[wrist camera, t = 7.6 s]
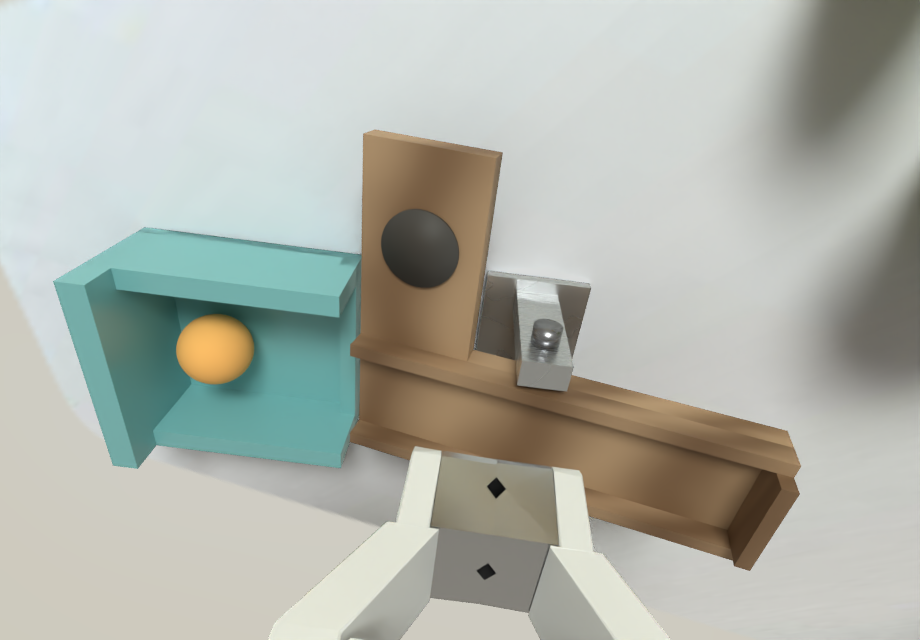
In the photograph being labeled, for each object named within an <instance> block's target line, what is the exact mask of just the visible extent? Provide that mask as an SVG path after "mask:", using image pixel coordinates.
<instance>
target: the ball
mask: <svg viewBox="0 0 920 640" xmlns="http://www.w3.org/2000/svg"><path fill="white" fill-rule="evenodd" d="M176 355H177V359H178V362H179V364H180V366H181V368H182V369H183V370H184V372H185V373H186V374H187V375H189V376H190V377H191V378H193V379H195V380H196V381H199V382H202V383H206V384H223V383H227V382H230V381H232V380H234V379H236V378H238V377H239V376H241V375H242V374H243V373H244V372H245V371H246V370H247V368H248V367H249V365H250V363H251V361H252V359H253V355H254V342H253V338H252V335H251V333H250V332H249V330H248V329H247V327H246V326H245V325H244V324H243V323H242V322H240V321H239V320H237V319H235V318H233V317H231V316H228V315H223V314H209V315H204V316H201V317H199V318H197V319H195V320H193V321H192V322H190V323H189V324H188V325H187V326H186V327H185V328H184V329H183V331H182V332H181V334H180V336H179V338H178V341H177V345H176Z"/></svg>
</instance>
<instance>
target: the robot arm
mask: <svg viewBox="0 0 920 640" xmlns="http://www.w3.org/2000/svg"><path fill="white" fill-rule="evenodd" d="M430 598H436V599H444V600H453V601H460V602H468V603H476V604H483V605H488V606H493V607H499V608H504V609H510V610H515V611H522V612H527V613H529V615H528V616H529V618H530V620H531V622H532V624H533V626H534V628H535V630H536V632H537V634H538V635H539V638H540V640H671V639H670V637H669V636H668V635H667V634H666V632H665V631H664V630H663V629H662V627H661V626H660V625H659V624H658V622H657V621H656V620H655V619H654V617H653V616H652V615H651V614H650V613H649V611H648V610H647V609H646V607H645V606H644V605H643V603H642V602H641V601H640V600H639V598H638V597H637V596H636V595H635V593H634V592H633V591H632V590H631V588H630V587H629V586H628V585H627V583H626V582H625V581H624V580H623V578H622V577H621V576H620V575H619V573H618V572H617V571H616V570H615V568H614V567H613V566H612V565H611V563H610V562H609V561H608V559H607V558H606V557H605V556H604V554H602V553H596V552H594V549H593V542H592V536H591V529H590V523H589V516H588V509H587V503H586V496H585V490H584V483H583V476H582V474H581V472H580V471H579V470H572V469H565V468H558V467H550V466H543V465H536V464H529V463H521V462H514V461H507V460H499V459H490V458H484V457H478V456H472V455H466V454H461V453H455V452H449V451H443V453H442V451H440V450H434V449H428V448H423V447H417V446H415V447H414V449H413V452H412V455H411V459H410V463H409V467H408V472H407V476H406V480H405V484H404V489H403V493H402V497H401V501H400V505H399V510H398V514H397V518H396V522H389V521H387V522H386V523H384V524H383V525H382V526H381V527H380V528H379V529H378V530H377V531H376V532H375V533H373V534H372V535H371V536H370V537H369V538H368V539H367V540H366V541H365V542H363V543H362V544H361V545H360V546H359V547H358V548H357V549H356V550H355V551H354V552H352V553H351V554H350V555H349V556H348V557H347V558H346V559H345V560H344V561H342V562H341V563H340V564H339V565H338V566H337V567H336V568H335V569H334V570H332V571H331V572H330V573H329V574H328V575H327V576H326V577H325V578H324V579H323V580H321V581H320V582H319V583H318V584H317V585H316V586H315V587H314V588H312V590H310V591H309V592H308V593H307V594H306V595H305V596H304V597H303V598H301V599H300V600H299V601H298V602H297V603H296V604H295V605H294V606H293V607H291V608H290V609H289V610H288V611H287V612H286V613H285V614H284V615H283V616H281V617H280V618H279V619H278V620H277V621H276V622H275V624H274V626H273V628H272V631H271V633H270V636H269V639H268V640H400V639H401V638H402V636H403V635H404V634H405V632H406V631H407V630H408V628H409V627H410V626H411V625H412V623H413V622H414V621H415V619H416V618H417V617H418V615H419V614H420V613H421V612H422V610H423V609H424V607H425V606H426V605H427V604H428V602H429V600H430Z"/></svg>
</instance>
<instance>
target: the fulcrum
mask: <svg viewBox="0 0 920 640" xmlns="http://www.w3.org/2000/svg"><path fill="white" fill-rule="evenodd" d="M590 290H591V286H590V284H589V283H581V282H573V281H565V280H557V279H549V278H541V277H533V276H526V275H518V274H510V273H502V272H494V271H488V274H487V280H486V287H485V293H484V300H483V307H482V313H481V320H480V326H479V333H478V339H477V346H476V351H480V352H484V353H488V354H492V355H496V356H500V357H504V358H507V359H511V360H515V361H516V376H517V385H519V386H527V387H535V388H543V389H551V390H558V391H566V392H567V390H568V386H569V382H570V379H571V375H572V371H573V368H574V366H573V362H572V357H573V354H574V350H575V346H576V342H577V339H578V335H579V331H580V328H581V324H582V320H583V316H584V313H585V309H586V305H587V302H588V298H589V294H590Z"/></svg>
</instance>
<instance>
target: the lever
mask: <svg viewBox="0 0 920 640" xmlns="http://www.w3.org/2000/svg"><path fill="white" fill-rule="evenodd" d="M502 154H503V153H502V152H497V151H491V150H486V149H480V148H474V147H469V146H463V145H458V144H452V143H447V142H441V141H435V140H430V139H424V138H419V137H413V136H408V135H402V134H396V133H391V132H385V131H380V130H373V131H370V132H367V133H364V134H363V192H362V263H361V333H360V334H359V336H358V337H357V338H356V339H355V340H354V341H353V342H352V343H351V344H350V356H352V357H356V358H359V359H360V406H359V421H358V422H357V424H356V425H355V426H354V428H353V429H352V430H351V432H350V442H352V443H355V444H359V445H362V446H365V447H368V448H372V449H375V450H378V451H381V452H385V453H388V454H391V455H394V456H397V457H401V458H404V459H407V460H410V459H411V455H412V452H413V449H414V447H415V446H417V447H423V448H428V449H434V450H440V451H442V453H443V451H449V452H455V453H461V454H466V455H472V456H478V457H484V458H490V459H499V460H507V461H514V462H521V463H529V464H536V465H543V466H550V467H558V468H565V469H572V470H579V471H580V472H581V474H582V476H583V483H584V490H585V496H586V503H587V509H588V516H591V517H594V518H597V519H601V520H604V521H607V522H610V523H613V524H617V525H620V526H623V527H626V528H630V529H633V530H636V531H639V532H642V533H646V534H649V535H652V536H655V537H659V538H662V539H665V540H668V541H671V542H675V543H678V544H681V545H684V546H688V547H691V548H694V549H697V550H700V551H704V552H707V553H710V554H713V555H717V556H720V557H723V558H726V559H729V560H733V563H734V566H736V567H739V568H742V569H745V570H749V571H750V570H751V568H752V567H753V565H754V564H755V562H756V561H757V559H758V558H759V556H760V554H761V553H762V551H763V550H764V548H765V547H766V545H767V544H768V542H769V541H770V539H771V537H772V536H773V534H774V533H775V531H776V530H777V528H778V527H779V525H780V524H781V522H782V521H783V519H784V517H785V516H786V514H787V513H788V511H789V510H790V508H791V507H792V505H793V504H794V502H795V501H796V499H797V497H798V496H799V494H800V493H799V491H798V488H797V485H796V482H795V480H794V477H795V475H796V474H797V472H798V471H799V469H800V467H801V465H800V462H799V460H798V457H797V454H796V452H795V449H794V447H793V444H792V442H791V439H790V436H789V434H788V431H785V430H782V429H778V428H774V427H770V426H766V425H762V424H758V423H754V422H751V421H747V420H743V419H739V418H735V417H731V416H727V415H724V414H720V413H716V412H712V411H708V410H704V409H700V408H697V407H693V406H689V405H685V404H681V403H677V402H673V401H670V400H666V399H662V398H658V397H654V396H650V395H646V394H643V393H639V392H635V391H631V390H627V389H623V388H619V387H615V386H612V385H608V384H604V383H600V382H596V381H592V380H588V379H585V378H581V377H577V376H573V375H571V379H570V382H569V386H568V390H567V392H566V391H558V390H551V389H543V388H535V387H527V386H519V385H517V376H516V361H515V360H511V359H507V358H504V357H500V356H496V355H492V354H488V353H484V352H480V351H476V350H473V349H474V342H475V335H476V328H477V322H478V315H479V308H480V302H481V295H482V288H483V281H484V275H485V268H486V261H487V255H488V248H489V241H490V234H491V228H492V221H493V214H494V208H495V201H496V194H497V187H498V181H499V174H500V167H501V160H502Z"/></svg>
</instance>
